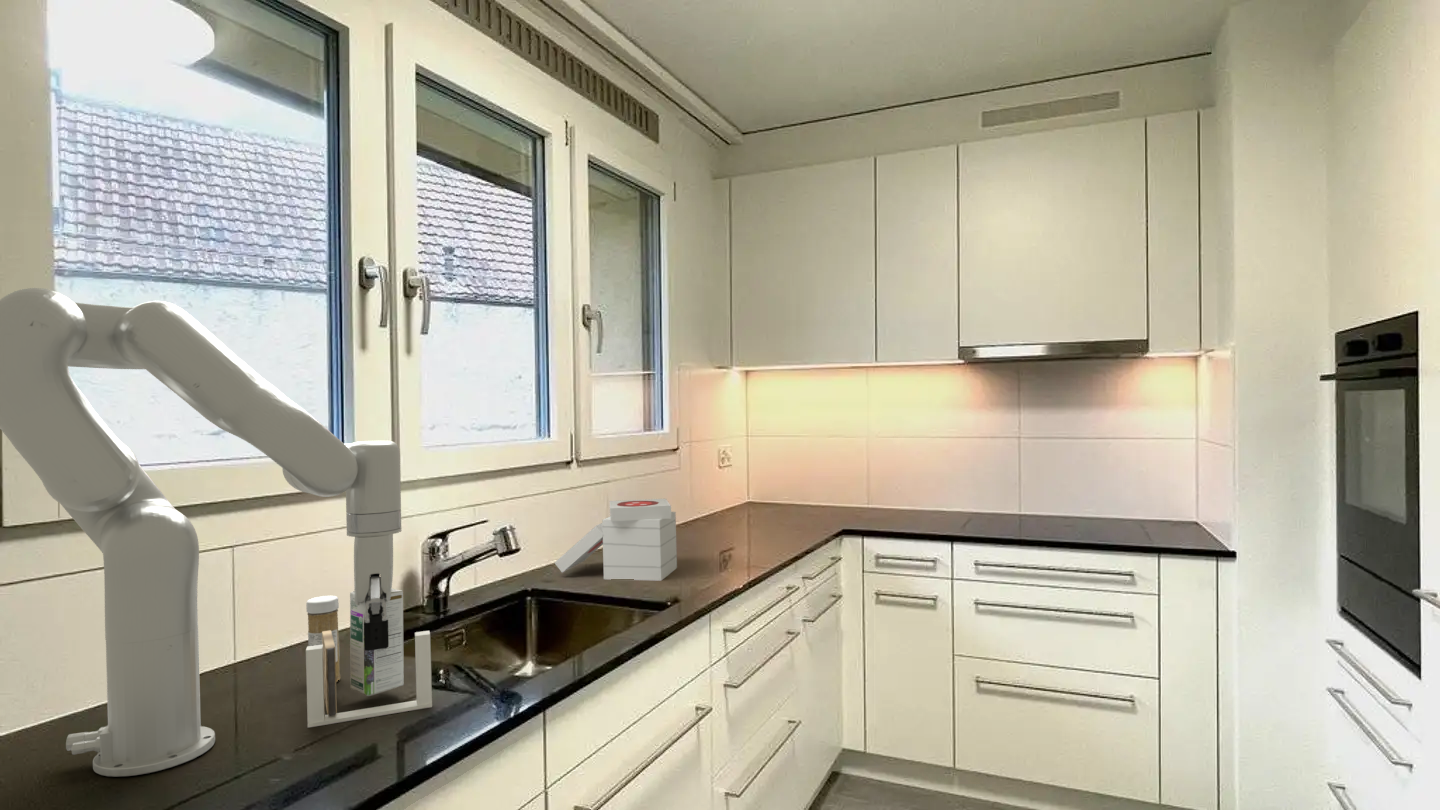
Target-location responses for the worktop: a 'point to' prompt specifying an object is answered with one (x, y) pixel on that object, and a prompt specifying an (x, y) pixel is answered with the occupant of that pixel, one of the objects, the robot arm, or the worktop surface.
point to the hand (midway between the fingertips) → (376, 640)
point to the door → (329, 672)
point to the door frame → (423, 701)
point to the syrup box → (380, 665)
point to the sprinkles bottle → (323, 622)
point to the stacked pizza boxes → (631, 541)
